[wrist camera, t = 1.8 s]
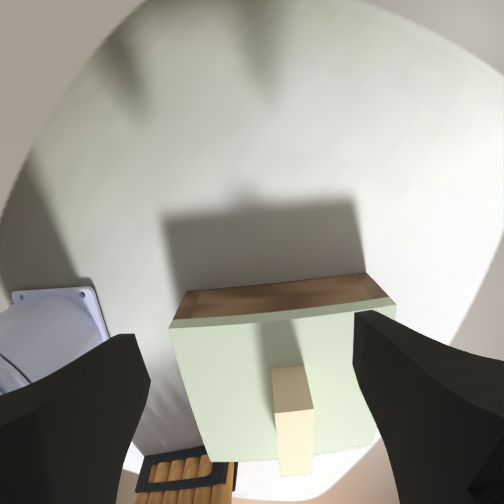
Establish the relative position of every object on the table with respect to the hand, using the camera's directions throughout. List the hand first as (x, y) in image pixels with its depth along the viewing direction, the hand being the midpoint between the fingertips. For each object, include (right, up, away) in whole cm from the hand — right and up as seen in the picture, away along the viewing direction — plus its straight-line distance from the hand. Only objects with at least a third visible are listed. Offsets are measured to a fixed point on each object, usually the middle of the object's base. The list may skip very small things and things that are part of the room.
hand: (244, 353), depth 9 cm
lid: (+2, -5, +9) cm, 11 cm away
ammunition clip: (-6, -17, +16) cm, 24 cm away
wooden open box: (+3, -5, +12) cm, 13 cm away
